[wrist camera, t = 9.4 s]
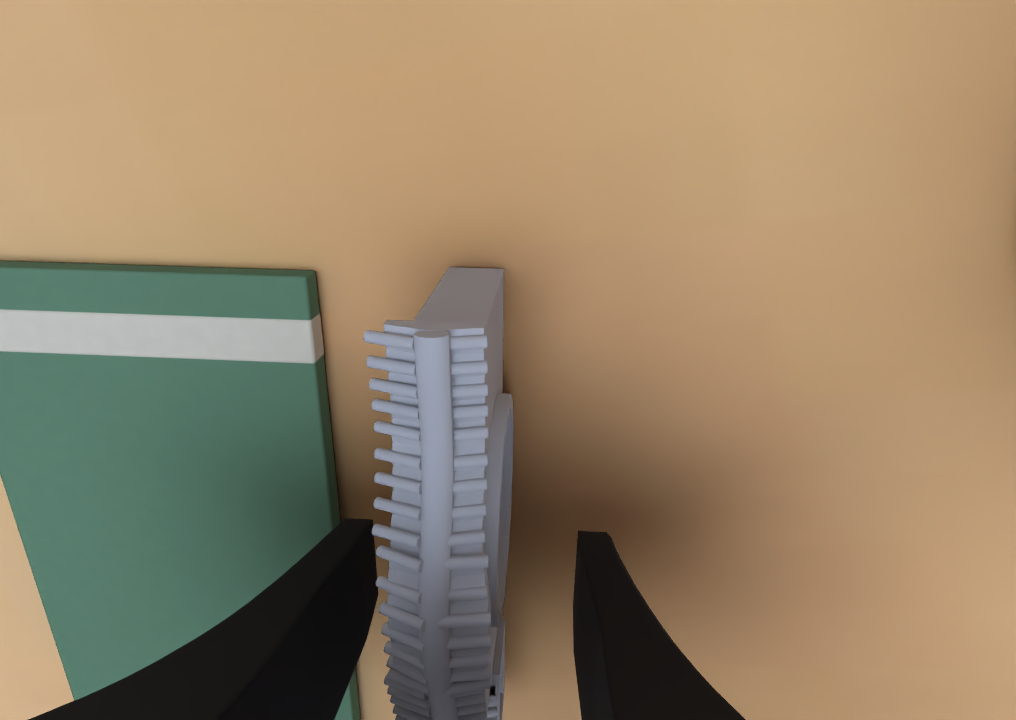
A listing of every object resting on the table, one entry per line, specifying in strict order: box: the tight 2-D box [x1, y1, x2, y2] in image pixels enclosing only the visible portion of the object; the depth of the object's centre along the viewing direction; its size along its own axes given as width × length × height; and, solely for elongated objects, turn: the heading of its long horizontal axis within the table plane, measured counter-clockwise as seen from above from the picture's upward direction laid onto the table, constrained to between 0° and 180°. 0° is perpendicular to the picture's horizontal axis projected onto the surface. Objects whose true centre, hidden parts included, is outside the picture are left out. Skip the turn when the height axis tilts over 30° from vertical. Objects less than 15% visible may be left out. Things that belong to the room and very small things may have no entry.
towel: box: [0, 261, 360, 720], centre depth 17 cm, size 8×18×1 cm, turn 179°
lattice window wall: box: [364, 267, 513, 720], centre depth 12 cm, size 12×2×6 cm, turn 179°
